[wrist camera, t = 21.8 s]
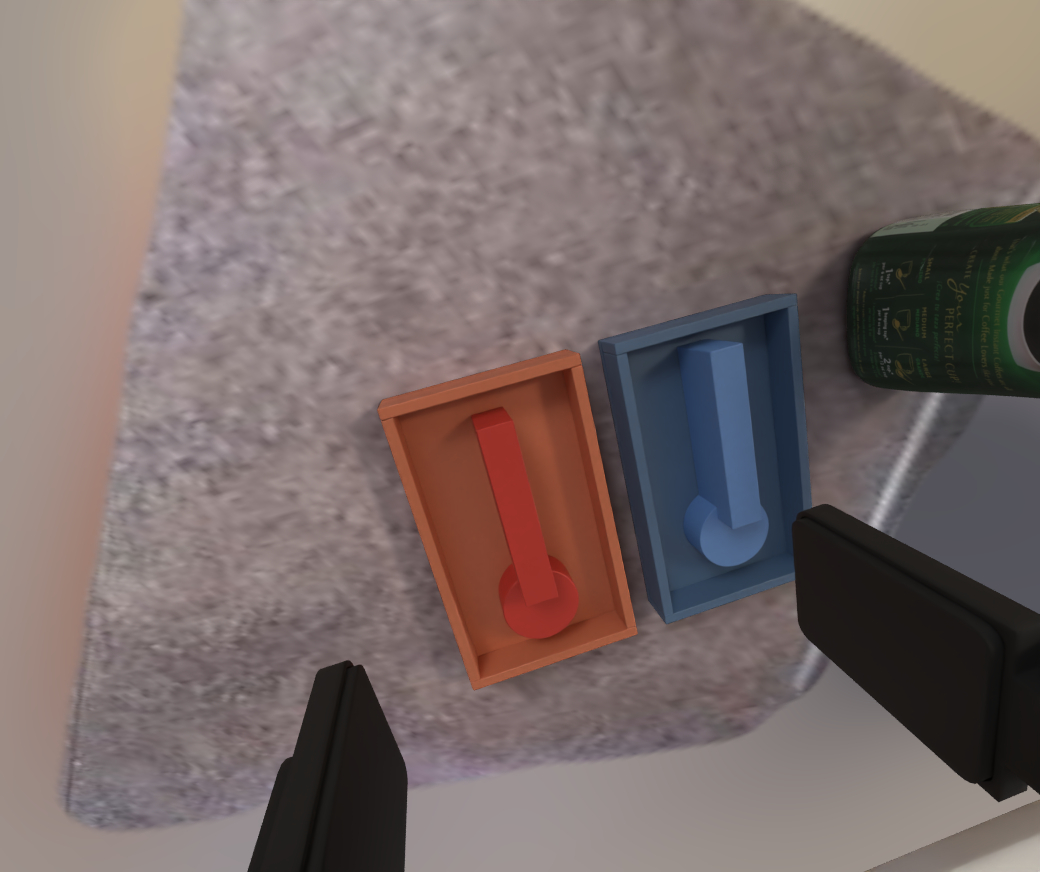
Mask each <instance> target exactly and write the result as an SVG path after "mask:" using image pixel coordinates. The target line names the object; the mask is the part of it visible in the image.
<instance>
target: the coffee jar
mask: <svg viewBox="0 0 1040 872" xmlns="http://www.w3.org/2000/svg"><path fill="white" fill-rule="evenodd" d="M847 341H848V350H849V357H850V362H851V365H852V367H853V370H854V371H855V373H856V374H857V376H858V377H859V378H861V379H862V380H863V381H864V382H866V383H867V384H869V385H872V386H875V387H879V388H886V389H894V390H904V391H917V392H935V393H957V394H982V395H999V396H1016V397H1029V398H1040V203H1035V204H1024V205H1014V206H1001V207H990V208H980V209H970V210H961V211H952V212H944V213H937V214H930V215H925V216H920V217H915V218H910V219H906V220H902V221H899V222H896V223H893V224H890V225H887V226H885V227H883V228H881V229H879V230H878V231H876V232H875V233H873V234H872V235H871V236H870V237H869V238H868V239H867V240H866V241H865V242H864V243H863V245H862V246H861V247H860V249H859V250H858V252H857V253H856V255H855V258H854V260H853V263H852V266H851V271H850V277H849V286H848V298H847Z"/></svg>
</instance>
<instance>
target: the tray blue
mask: <svg viewBox="0 0 1040 872" xmlns="http://www.w3.org/2000/svg"><path fill="white" fill-rule="evenodd" d="M702 339H713V340H722V341H730V342H739V343H743V350H744V359H745V369H746V378H747V387H748V397H749V406H750V415H751V424H752V434H753V443H754V452H755V462H756V471H757V480H758V489H759V499H760V505H761V506H762V507H763V509H764V510H765V512H766V514H767V517H768V523H769V527H768V534H767V537H766V540H765V542H764V544H763V546H762V547H761V549H760V550H759V551H758V552H757V553H756V554H755V555H754V556H753V557H752V558H751V559H749V560H748V561H746V562H744V563H742V564H739V565H736V566H730V567H725V566H719V565H716V564H714V563H712V562H710V561H709V560H708V559H707V558H706V557H705V556H704V555H702V554H701V553H700V552H699V551H698V550H697V549H696V548H695V547H694V546H693V545H691V544H690V542H689V541H688V540H687V538H686V536H685V533H684V527H683V522H684V516H685V513H686V510H687V508H688V507H689V505H690V503H691V502H692V501H693V500H694V498H695V497H696V496H698V495H699V492H698V485H697V478H696V472H695V465H694V458H693V451H692V444H691V438H690V431H689V424H688V417H687V411H686V404H685V397H684V390H683V384H682V377H681V370H680V363H679V357H678V350H677V347H678V346H681V345H685V344H688V343H692V342H695V341H699V340H702ZM598 344H599V349H600V354H601V359H602V364H603V370H604V375H605V380H606V385H607V390H608V395H609V400H610V405H611V411H612V416H613V421H614V426H615V431H616V436H617V441H618V447H619V452H620V457H621V462H622V467H623V472H624V477H625V482H626V488H627V493H628V498H629V503H630V508H631V513H632V518H633V524H634V529H635V534H636V539H637V544H638V549H639V554H640V559H641V565H642V570H643V575H644V580H645V585H646V590H647V595H648V601H649V602H650V603H651V605H652V606H653V607H654V609H655V610H656V611H657V613H658V614H659V615H660V617H661V618H662V619H663V621H664V622H665V623H666V624H669V623H672V622H675V621H678V620H680V619H683V618H686V617H689V616H692V615H695V614H698V613H701V612H704V611H707V610H710V609H712V608H715V607H718V606H721V605H724V604H727V603H730V602H733V601H736V600H739V599H741V598H744V597H747V596H750V595H753V594H756V593H759V592H762V591H765V590H768V589H770V588H773V587H776V586H779V585H782V584H785V583H788V582H791V581H794V580H795V569H794V555H793V541H792V523H793V522H794V521H796V517H797V514H798V513H799V512H801V511H804V510H807V509H810V508H812V498H811V484H810V470H809V457H808V443H807V429H806V415H805V402H804V388H803V374H802V360H801V347H800V333H799V319H798V306H797V294H766V295H762V296H758V297H755V298H751V299H747V300H744V301H740V302H736V303H733V304H729V305H726V306H722V307H718V308H715V309H711V310H707V311H704V312H700V313H696V314H693V315H689V316H685V317H682V318H678V319H675V320H671V321H667V322H664V323H660V324H656V325H653V326H649V327H645V328H642V329H638V330H634V331H631V332H627V333H624V334H620V335H616V336H613V337H609V338H605V339H602V340H599V341H598Z"/></svg>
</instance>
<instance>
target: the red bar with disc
mask: <svg viewBox="0 0 1040 872" xmlns="http://www.w3.org/2000/svg"><path fill="white" fill-rule="evenodd" d="M471 419H472V423H473V426H474V430H475V434H476V437H477V441H478V444H479V448H480V451H481V455H482V458H483V462H484V465H485V469H486V472H487V476H488V479H489V483H490V486H491V490H492V493H493V497H494V500H495V504H496V507H497V511H498V515H499V518H500V522H501V525H502V529H503V532H504V536H505V539H506V543H507V546H508V550H509V553H510V557H511V560H512V564H511V565H509V567H508V568H507V569H506V570H505V572H504V573H503V575H502V577H501V579H500V582H499V588H498V592H499V598H500V603H501V607H502V611H503V615H504V618H505V621H506V623H507V624H508V626H509V627H510V628H511V629H512V630H513V631H514V632H516V633H517V634H519V635H521V636H523V637H526V638H532V639H541V638H546V637H550V636H553V635H555V634H557V633H559V632H560V631H562V630H563V629H564V628H566V627H567V626H568V625H569V624H570V622H571V621H572V620H573V618H574V616H575V615H576V612H577V609H578V605H579V594H578V590H577V588H576V586H575V584H574V582H573V580H572V578H571V576H570V574H569V572H568V570H567V569H566V567H565V566H564V564H563V563H562V562H561V561H559V560H558V559H556V558H555V557H553V556H550V555H548V554H547V550H546V546H545V542H544V538H543V535H542V531H541V527H540V523H539V519H538V515H537V511H536V507H535V503H534V500H533V496H532V492H531V488H530V484H529V480H528V476H527V472H526V469H525V465H524V461H523V457H522V453H521V449H520V445H519V441H518V438H517V434H516V430H515V426H514V422H513V420H512V418H511V417H510V416H509V414H508V413H507V412H506V410H505V409H504V408H503V406H502V407H498V408H495V409H491V410H487V411H484V412H480V413H477V414H473V415H471Z"/></svg>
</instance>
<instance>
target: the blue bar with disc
mask: <svg viewBox="0 0 1040 872" xmlns="http://www.w3.org/2000/svg"><path fill="white" fill-rule="evenodd" d="M677 350H678V357H679V363H680V370H681V377H682V384H683V390H684V397H685V404H686V411H687V417H688V424H689V431H690V438H691V444H692V451H693V458H694V465H695V472H696V478H697V485H698V492H699V495H698V496H696V497H695V498H694V500H693V501H692V502H691V503H690V505H689V507H688V508H687V510H686V513H685V516H684V522H683V527H684V533H685V536H686V538H687V540H688V541H689V542H690V544H691V545H693V546H694V547H695V548H696V549H697V550H698V551H699V552H700V553H701V554H702V555H704V556H705V557H706V558H707V559H708V560H709V561H710V562H712V563H714V564H716V565H719V566H725V567H730V566H736V565H739V564H742V563H744V562H746V561H748V560H749V559H751V558H752V557H753V556H754V555H755V554H756V553H757V552H758V551H759V550H760V549H761V547H762V546H763V544H764V542H765V540H766V537H767V534H768V527H769V523H768V517H767V514H766V512H765V510H764V509H763V507H762V506H761V505H760V499H759V489H758V480H757V471H756V462H755V452H754V443H753V434H752V424H751V415H750V406H749V397H748V387H747V378H746V369H745V359H744V350H743V343H739V342H730V341H722V340H713V339H702V340H699V341H695V342H692V343H688V344H685V345H681V346H678V347H677Z"/></svg>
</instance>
